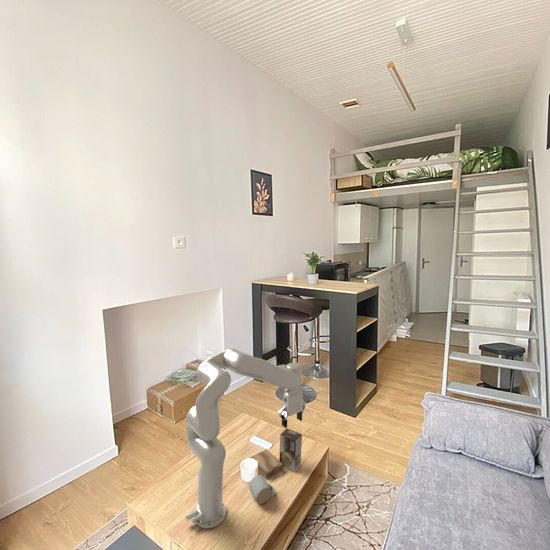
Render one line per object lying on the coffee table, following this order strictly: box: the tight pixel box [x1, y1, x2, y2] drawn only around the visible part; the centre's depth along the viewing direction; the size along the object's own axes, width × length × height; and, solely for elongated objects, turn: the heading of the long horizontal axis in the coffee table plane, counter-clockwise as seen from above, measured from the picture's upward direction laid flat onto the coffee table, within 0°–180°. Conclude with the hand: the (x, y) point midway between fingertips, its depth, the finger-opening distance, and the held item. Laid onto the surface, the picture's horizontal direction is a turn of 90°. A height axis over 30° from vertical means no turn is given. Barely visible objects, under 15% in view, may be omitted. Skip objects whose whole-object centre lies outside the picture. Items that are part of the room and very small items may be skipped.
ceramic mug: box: [248, 474, 276, 505], centre depth 132 cm, size 11×8×8 cm
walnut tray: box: [250, 449, 284, 480], centre depth 150 cm, size 10×13×3 cm
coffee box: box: [278, 427, 303, 473], centre depth 151 cm, size 9×6×16 cm
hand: (291, 422), depth 149 cm, fingers open, 9 cm apart
